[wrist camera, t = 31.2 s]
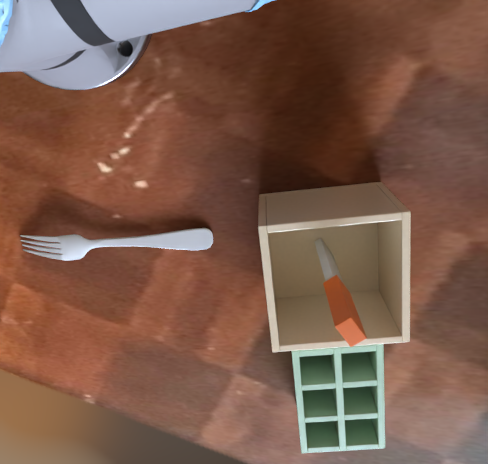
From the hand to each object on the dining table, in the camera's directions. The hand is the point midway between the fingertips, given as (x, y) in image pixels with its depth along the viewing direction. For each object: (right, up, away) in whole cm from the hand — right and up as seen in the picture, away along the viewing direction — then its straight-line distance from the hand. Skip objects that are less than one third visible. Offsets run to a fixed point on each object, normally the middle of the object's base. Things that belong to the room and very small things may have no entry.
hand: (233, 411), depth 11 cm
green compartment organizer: (+10, -10, +43) cm, 45 cm away
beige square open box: (+9, +3, +38) cm, 39 cm away
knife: (+9, +3, +37) cm, 38 cm away
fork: (-14, +4, +39) cm, 41 cm away
